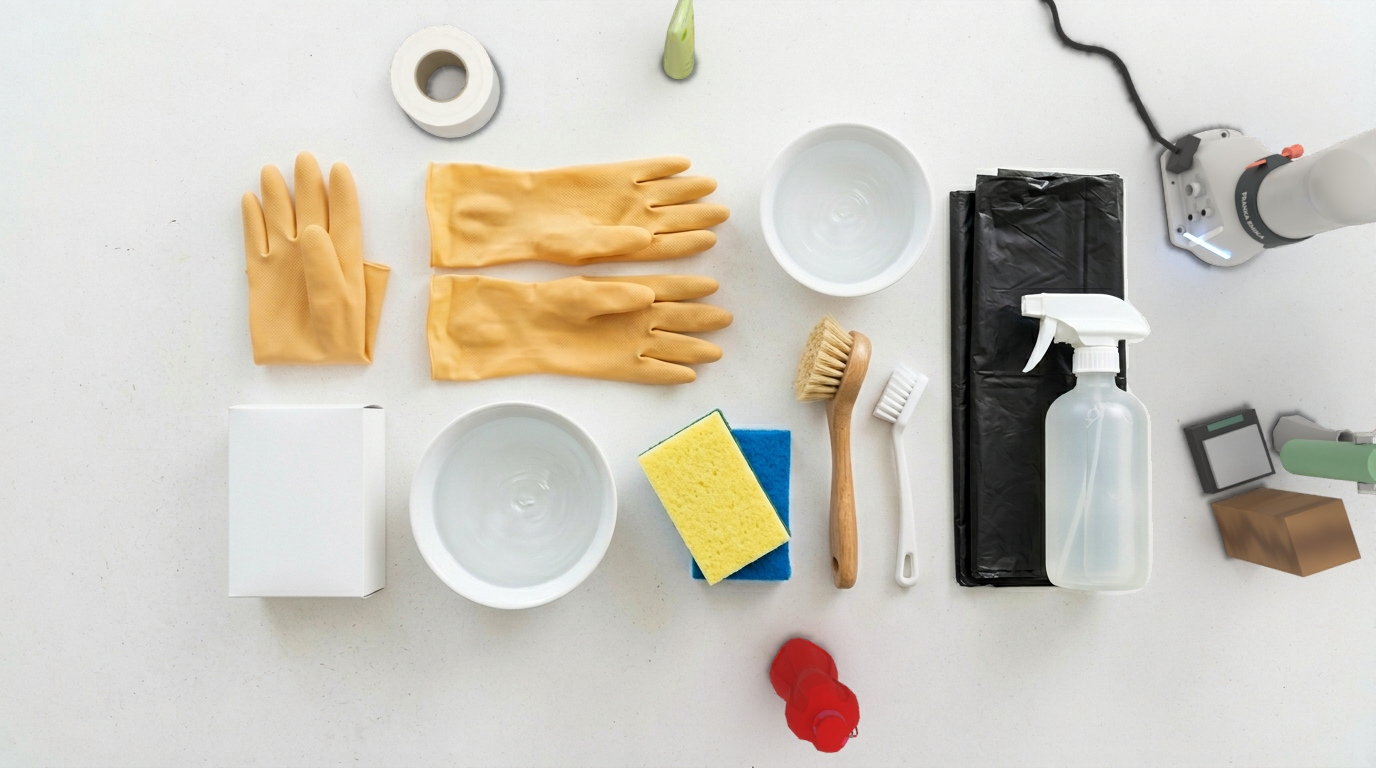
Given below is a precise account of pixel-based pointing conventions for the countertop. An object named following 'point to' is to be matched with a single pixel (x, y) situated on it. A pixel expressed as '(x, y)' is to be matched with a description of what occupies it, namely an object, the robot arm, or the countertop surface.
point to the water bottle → (814, 696)
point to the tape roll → (427, 56)
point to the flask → (1306, 432)
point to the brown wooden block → (1287, 530)
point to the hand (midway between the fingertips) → (1355, 463)
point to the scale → (1229, 451)
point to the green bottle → (1330, 460)
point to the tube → (680, 41)
